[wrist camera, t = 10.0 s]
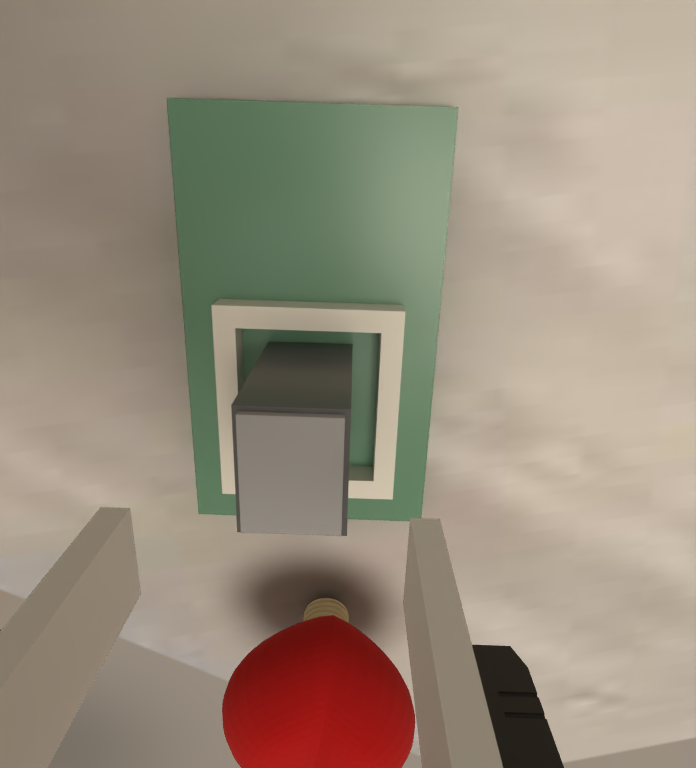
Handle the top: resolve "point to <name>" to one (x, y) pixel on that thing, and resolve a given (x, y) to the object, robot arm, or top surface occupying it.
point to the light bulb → (318, 699)
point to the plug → (294, 440)
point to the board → (314, 271)
